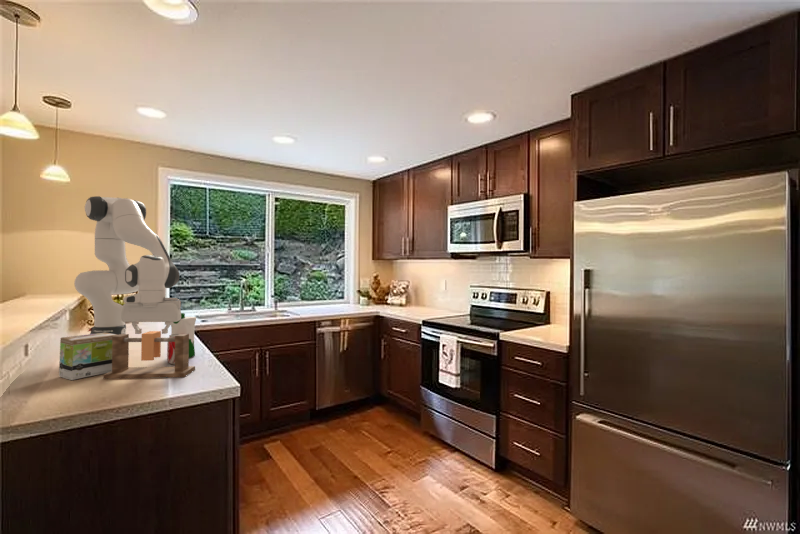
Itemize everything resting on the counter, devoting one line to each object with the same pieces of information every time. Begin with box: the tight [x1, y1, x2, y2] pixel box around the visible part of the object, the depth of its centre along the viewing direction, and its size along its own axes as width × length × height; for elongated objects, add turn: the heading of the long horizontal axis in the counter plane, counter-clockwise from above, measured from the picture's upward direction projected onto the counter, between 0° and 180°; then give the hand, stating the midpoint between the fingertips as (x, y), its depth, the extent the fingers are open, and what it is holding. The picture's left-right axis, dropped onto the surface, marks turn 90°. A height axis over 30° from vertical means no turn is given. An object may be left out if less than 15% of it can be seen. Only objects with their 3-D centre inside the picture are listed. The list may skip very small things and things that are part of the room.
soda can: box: [166, 334, 179, 365], centre depth 166 cm, size 7×7×12 cm
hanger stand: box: [102, 333, 196, 380], centre depth 148 cm, size 28×10×15 cm, turn 97°
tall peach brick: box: [140, 330, 162, 362], centre depth 148 cm, size 4×6×10 cm, turn 7°
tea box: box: [58, 333, 116, 381], centre depth 148 cm, size 15×10×15 cm, turn 153°
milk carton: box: [170, 312, 197, 358], centre depth 176 cm, size 9×9×20 cm
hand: (151, 333), depth 148 cm, fingers open, 8 cm apart
